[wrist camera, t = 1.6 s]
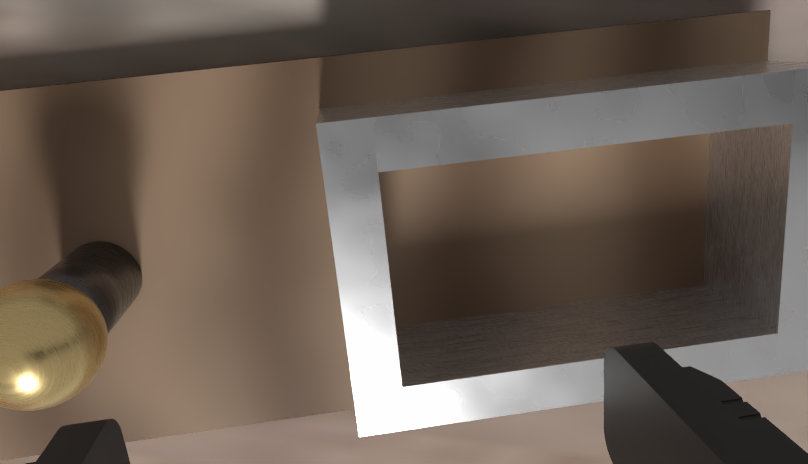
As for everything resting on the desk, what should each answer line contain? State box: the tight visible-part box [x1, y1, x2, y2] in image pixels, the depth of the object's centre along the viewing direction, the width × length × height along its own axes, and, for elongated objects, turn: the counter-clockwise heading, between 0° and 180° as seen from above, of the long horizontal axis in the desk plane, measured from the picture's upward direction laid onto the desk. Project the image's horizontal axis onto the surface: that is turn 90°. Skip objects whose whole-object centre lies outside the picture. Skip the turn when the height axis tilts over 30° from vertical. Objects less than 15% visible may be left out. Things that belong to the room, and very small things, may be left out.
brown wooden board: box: [0, 10, 770, 460], centre depth 22 cm, size 32×12×1 cm, turn 96°
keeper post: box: [0, 241, 142, 411], centre depth 18 cm, size 3×3×6 cm
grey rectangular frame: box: [316, 61, 808, 437], centre depth 20 cm, size 14×9×4 cm, turn 96°
